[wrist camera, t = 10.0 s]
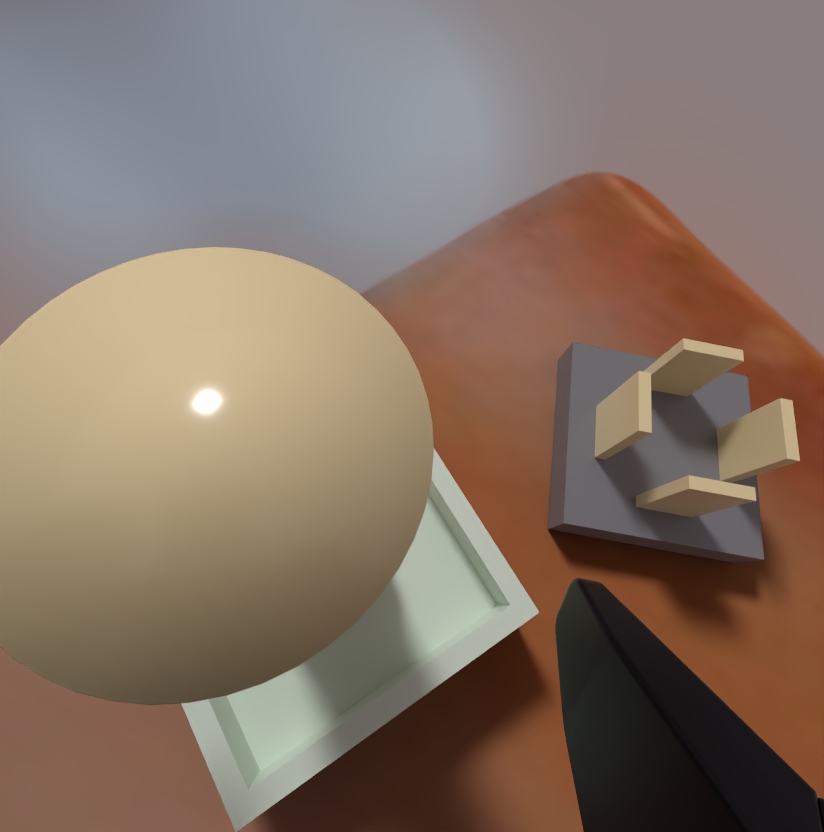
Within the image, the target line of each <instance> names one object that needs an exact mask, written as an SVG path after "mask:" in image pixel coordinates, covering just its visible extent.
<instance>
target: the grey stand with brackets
mask: <svg viewBox="0 0 824 832" xmlns="http://www.w3.org/2000/svg"><path fill="white" fill-rule="evenodd" d="M743 361H744V358H743V350H740V349H735V348H729V347H724V346H719V345H714V344H709V343H704V342H699V341H694V340H689V339H684V338H683V339H682V340H681V341H680V342H678V343H677V344H676V345H675V346H674V347H672V348H671V349H670V350H669V351H667V352H666V353H665V354H664V355H663V356H661V357H660V358H659V359H656V358H651V357H646V356H641V355H636V354H631V353H625V352H620V351H615V350H610V349H605V348H600V347H595V346H589V345H584V344H579V343H574V342H573V343H572V344H571V345H570V346H569V348H568V349H567V350H566V351H565V353H564V354H563V355H562V356H561V358H560V359H559V361H558V377H557V392H556V408H555V424H554V440H553V456H552V472H551V487H550V503H549V519H548V529H550V530H555V531H561V532H566V533H572V534H577V535H583V536H588V537H594V538H599V539H605V540H610V541H616V542H621V543H627V544H632V545H638V546H643V547H649V548H654V549H659V550H665V551H670V552H676V553H681V554H687V555H692V556H698V557H703V558H709V559H714V560H720V561H725V562H731V563H738V562H748V561H757V560H764V551H763V540H762V530H761V519H760V508H759V497H758V486H757V475H758V474H761V473H764V472H767V471H770V470H773V469H777V468H780V467H783V466H786V465H789V464H792V463H795V462H798V461H800V457H799V449H798V441H797V434H796V426H795V418H794V410H793V402H792V400H787V399H782V398H780V399H777V400H775V401H773V402H771V403H769V404H767V405H765V406H763V407H761V408H759V409H757V410H755V411H753V412H751V409H750V399H749V388H748V377H747V376H744V375H739V374H734V373H728V372H727V371H729V370H730V369H732V368H733V367H735V366H737V365H738V364H740V363H741V362H743Z"/></svg>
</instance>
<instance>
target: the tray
mask: <svg viewBox="0 0 824 832" xmlns="http://www.w3.org/2000/svg"><path fill="white" fill-rule="evenodd" d="M538 613H539V611H538V610H537V608H536V607H535V605H534V603H533V602H532V600H531V599H530V597H529V596H528V594H527V593H526V591H525V589H524V588H523V586H522V585H521V583H520V582H519V580H518V579H517V577H516V575H515V574H514V572H513V571H512V569H511V568H510V566H509V564H508V563H507V561H506V560H505V558H504V557H503V555H502V554H501V552H500V550H499V549H498V547H497V546H496V544H495V543H494V541H493V540H492V538H491V536H490V535H489V533H488V532H487V530H486V529H485V527H484V526H483V524H482V522H481V521H480V519H479V518H478V516H477V515H476V513H475V512H474V510H473V508H472V507H471V505H470V504H469V502H468V501H467V499H466V498H465V496H464V494H463V493H462V491H461V490H460V488H459V487H458V485H457V483H456V482H455V480H454V479H453V477H452V476H451V474H450V473H449V471H448V469H447V468H446V466H445V465H444V463H443V462H442V460H441V459H440V457H439V455H438V454H437V452H436V451H435V449H434V456H433V468H432V479H431V485H430V489H429V494H428V498H427V503H426V507H425V511H424V514H423V517H422V519H421V522H420V525H419V528H418V530H417V533H416V536H415V538H414V541H413V543H412V545H411V546H410V548H409V550H408V552H407V554H406V556H405V558H404V560H403V562H402V564H401V566H400V568H399V569H398V571H397V572H396V574H395V575H394V576H393V578H392V579H391V581H390V582H389V584H388V585H387V586H386V588H385V589H384V591H383V592H382V594H381V595H380V597H379V598H378V599H377V600H376V601H375V602H374V603H373V604H372V605H371V606H370V608H369V609H368V610H367V611H366V612H365V613H364V614H363V615H362V616H361V618H360V619H359V620H358V621H357V622H356V623H355V624H354V625H352V626H351V627H350V628H349V629H348V630H347V631H346V632H344V633H343V634H342V635H341V636H340V637H339V638H337V639H336V640H335V641H334V642H333V643H332V644H330V645H329V646H328V647H326V648H325V649H323V650H322V651H320V652H319V653H317V654H316V655H314V656H313V657H311V658H310V659H308V660H307V661H305V662H304V663H302V664H301V665H299V666H298V667H296V668H294V669H292V670H290V671H287V672H285V673H283V674H281V675H279V676H277V677H275V678H273V679H271V680H269V681H267V682H265V683H263V684H260V685H257V686H254V687H251V688H248V689H245V690H242V691H239V692H236V693H233V694H230V695H227V696H222V697H217V698H212V699H207V700H202V701H197V702H191V703H181V704H182V706H183V709H184V711H185V713H186V716H187V718H188V720H189V723H190V725H191V728H192V730H193V732H194V735H195V737H196V739H197V742H198V744H199V747H200V749H201V751H202V754H203V756H204V758H205V761H206V763H207V766H208V768H209V770H210V773H211V775H212V777H213V780H214V782H215V784H216V787H217V789H218V792H219V794H220V796H221V799H222V801H223V803H224V806H225V808H226V811H227V813H228V815H229V818H230V820H231V822H232V825H233V827H234V830H235V832H237V831H238V830H240V829H241V828H242V827H244V826H245V825H246V824H248V823H249V822H251V821H252V820H253V819H255V818H256V817H257V816H259V815H260V814H262V813H263V812H264V811H266V810H267V809H268V808H270V807H271V806H273V805H274V804H275V803H277V802H278V801H280V800H281V799H282V798H284V797H285V796H286V795H288V794H289V793H291V792H292V791H293V790H295V789H296V788H297V787H299V786H300V785H302V784H303V783H304V782H306V781H307V780H309V779H310V778H311V777H313V776H314V775H315V774H317V773H318V772H320V771H321V770H322V769H324V768H325V767H326V766H328V765H329V764H331V763H332V762H333V761H335V760H336V759H338V758H339V757H340V756H342V755H343V754H344V753H346V752H347V751H349V750H350V749H351V748H353V747H354V746H355V745H357V744H358V743H360V742H361V741H362V740H364V739H365V738H367V737H368V736H369V735H371V734H372V733H373V732H375V731H376V730H378V729H379V728H380V727H382V726H383V725H384V724H386V723H387V722H389V721H390V720H391V719H393V718H394V717H396V716H397V715H398V714H400V713H401V712H402V711H404V710H405V709H407V708H408V707H409V706H411V705H412V704H413V703H415V702H416V701H418V700H419V699H420V698H422V697H423V696H425V695H426V694H427V693H429V692H430V691H431V690H433V689H434V688H436V687H437V686H438V685H440V684H441V683H442V682H444V681H445V680H447V679H448V678H449V677H451V676H452V675H453V674H455V673H456V672H458V671H459V670H460V669H462V668H463V667H465V666H466V665H467V664H469V663H470V662H471V661H473V660H474V659H476V658H477V657H478V656H480V655H481V654H482V653H484V652H485V651H487V650H488V649H489V648H491V647H492V646H494V645H495V644H496V643H498V642H499V641H500V640H502V639H503V638H505V637H506V636H507V635H509V634H510V633H511V632H513V631H514V630H516V629H517V628H518V627H520V626H521V625H523V624H524V623H525V622H527V621H528V620H529V619H531V618H532V617H534V616H535V615H536V614H538Z"/></svg>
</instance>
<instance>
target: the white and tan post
mask: <svg viewBox="0 0 824 832" xmlns="http://www.w3.org/2000/svg"><path fill="white" fill-rule="evenodd" d="M433 456H434V446H433V425H432V419H431V414H430V409H429V403H428V398H427V395H426V392H425V389H424V386H423V383H422V380H421V377H420V374H419V372H418V370H417V368H416V366H415V364H414V362H413V359H412V357H411V355H410V353H409V351H408V349H407V348H406V347H405V345H404V344H403V342H402V341H401V339H400V338H399V336H398V335H397V333H396V332H395V330H394V329H393V328H392V326H391V325H390V324H389V323H388V322H387V321H386V320H385V318H384V317H383V316H382V315H381V314H380V313H379V312H378V311H377V310H376V309H375V308H374V307H373V306H372V305H371V304H370V303H368V302H367V301H366V300H365V299H364V298H363V297H362V296H361V295H359V294H358V293H357V292H355V291H354V290H352V289H351V288H349V287H348V286H346V285H345V284H343V283H342V282H341V281H339V280H338V279H336V278H334V277H332V276H330V275H328V274H326V273H324V272H322V271H320V270H318V269H317V268H314V267H311V266H309V265H307V264H304V263H301V262H299V261H296V260H293V259H291V258H287V257H283V256H279V255H275V254H271V253H267V252H262V251H255V250H248V249H241V248H219V247H209V248H193V249H182V250H176V251H170V252H164V253H158V254H154V255H150V256H146V257H143V258H139V259H136V260H132V261H129V262H126V263H123V264H121V265H118V266H116V267H113V268H110V269H108V270H105V271H103V272H100V273H98V274H96V275H94V276H92V277H90V278H88V279H86V280H84V281H83V282H81V283H79V284H77V285H75V286H73V287H72V288H70V289H68V290H67V291H65V292H64V293H62V294H61V295H59V296H58V297H56V298H54V299H53V300H51V301H50V302H48V303H47V304H46V305H45V306H43V307H42V308H41V309H40V310H38V311H37V312H36V313H35V314H33V315H32V316H31V317H30V318H28V319H27V320H26V321H25V322H24V323H23V324H22V325H21V326H20V327H19V328H18V329H17V330H16V331H15V332H14V333H13V334H12V335H11V336H10V337H9V338H8V339H7V340H6V341H5V342H4V343H3V344H2V345H1V346H0V647H2V648H3V649H4V650H5V651H6V652H7V653H8V654H9V655H10V656H12V657H13V658H14V659H15V660H16V661H18V662H19V663H21V664H23V665H24V666H26V667H27V668H29V669H30V670H32V671H34V672H35V673H37V674H38V675H40V676H41V677H43V678H45V679H47V680H49V681H52V682H54V683H56V684H59V685H61V686H63V687H66V688H68V689H71V690H73V691H75V692H78V693H81V694H86V695H90V696H94V697H98V698H102V699H106V700H110V701H114V702H125V703H136V704H146V705H159V704H178V703H191V702H197V701H202V700H207V699H212V698H217V697H222V696H227V695H230V694H233V693H236V692H239V691H242V690H245V689H248V688H251V687H254V686H257V685H260V684H263V683H265V682H267V681H269V680H271V679H273V678H275V677H277V676H279V675H281V674H283V673H285V672H287V671H290V670H292V669H294V668H296V667H298V666H299V665H301V664H302V663H304V662H305V661H307V660H308V659H310V658H311V657H313V656H314V655H316V654H317V653H319V652H320V651H322V650H323V649H325V648H326V647H328V646H329V645H330V644H332V643H333V642H334V641H335V640H336V639H337V638H339V637H340V636H341V635H342V634H343V633H344V632H346V631H347V630H348V629H349V628H350V627H351V626H352V625H354V624H355V623H356V622H357V621H358V620H359V619H360V618H361V616H362V615H363V614H364V613H365V612H366V611H367V610H368V609H369V608H370V606H371V605H372V604H373V603H374V602H375V601H376V600H377V599H378V598H379V597H380V595H381V594H382V592H383V591H384V589H385V588H386V586H387V585H388V584H389V582H390V581H391V579H392V578H393V576H394V575H395V574H396V572H397V571H398V569H399V568H400V566H401V564H402V562H403V560H404V558H405V556H406V554H407V552H408V550H409V548H410V546H411V545H412V543H413V541H414V538H415V536H416V533H417V530H418V528H419V525H420V522H421V519H422V517H423V514H424V511H425V507H426V503H427V498H428V494H429V489H430V485H431V479H432V468H433Z"/></svg>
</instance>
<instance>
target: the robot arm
mask: <svg viewBox="0 0 824 832" xmlns="http://www.w3.org/2000/svg"><path fill="white" fill-rule="evenodd" d="M555 634H556V645H557V657H558V668H559V680H560V691H561V702H562V713H563V722H564V730H565V736H566V742H567V747H568V753H569V758H570V763H571V768H572V773H573V778H574V784H575V789H576V794H577V799H578V804H579V809H580V815H581V820H582V825H583V830H584V832H824V799H822V798H817V794H816V792H815V791H814V790H813V789H812V788H811V787H810V786H809V785H808V784H807V783H806V782H805V781H804V780H803V779H802V778H801V777H800V776H799V775H798V774H797V773H796V772H795V771H794V770H793V769H792V768H791V767H790V766H789V765H788V764H787V763H786V762H785V761H784V760H783V759H782V758H781V757H780V756H779V755H777V754H776V753H775V752H774V751H773V750H772V749H771V748H770V747H769V746H768V745H767V744H766V743H765V742H764V741H763V740H762V739H761V738H760V737H759V736H758V735H757V734H756V733H755V732H754V731H753V730H752V729H751V728H750V727H749V726H748V725H747V724H746V723H745V722H744V721H743V720H742V719H741V718H739V717H738V716H737V715H736V714H735V713H734V712H733V711H732V710H731V709H730V708H729V707H728V706H727V705H726V704H725V703H724V702H723V701H722V700H721V699H720V698H719V697H718V696H717V695H716V694H715V693H714V692H713V691H712V690H711V689H710V688H709V687H708V686H707V685H706V684H705V683H704V682H703V681H701V680H700V679H699V678H698V677H697V676H696V675H695V674H694V673H693V672H692V671H691V670H690V669H689V668H688V667H687V666H686V665H685V664H684V663H683V662H682V661H681V660H680V659H679V658H678V657H677V656H676V655H675V654H674V653H673V652H672V651H671V650H670V649H669V648H668V647H667V646H666V645H664V644H663V643H662V642H661V641H660V640H659V639H658V638H657V637H656V636H655V635H654V634H653V633H652V632H651V631H650V630H649V629H648V628H647V627H646V626H645V625H644V624H643V623H642V622H641V621H640V620H639V619H638V618H637V617H636V616H635V615H634V614H633V613H632V612H631V611H630V610H629V609H628V608H626V607H625V606H624V605H623V604H622V603H621V602H620V601H619V600H618V599H617V598H616V597H615V596H614V595H613V594H612V593H611V592H610V591H609V590H608V589H607V588H606V587H605V586H604V585H603V584H601V583H599V582H596V581H591V580H586V579H581V578H577V579H574V580H573V581H572V582H571V584H570V586H569V588H568V591H567V593H566V595H565V598H564V600H563V602H562V605H561V607H560V609H559V612H558V614H557V617H556V623H555Z"/></svg>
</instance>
